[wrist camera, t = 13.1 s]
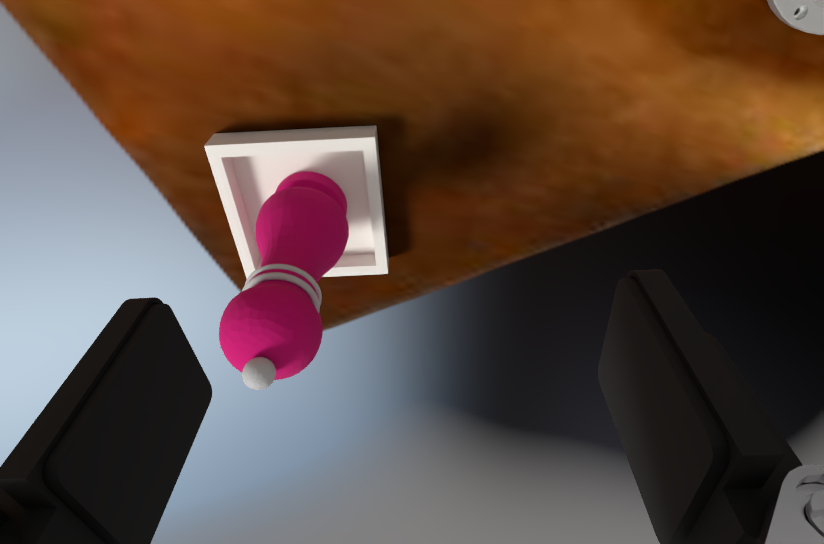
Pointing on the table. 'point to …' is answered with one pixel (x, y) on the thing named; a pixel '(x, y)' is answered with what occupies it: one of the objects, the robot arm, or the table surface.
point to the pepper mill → (286, 280)
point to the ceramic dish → (304, 152)
